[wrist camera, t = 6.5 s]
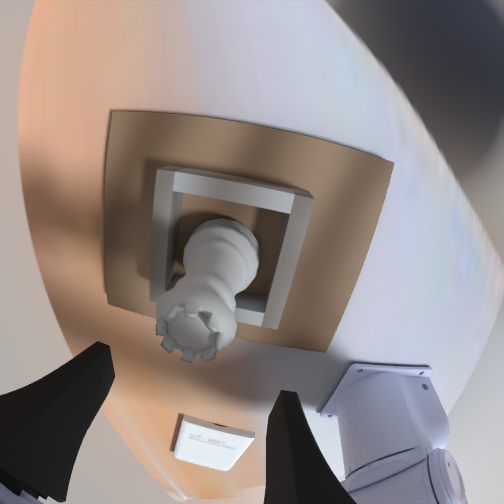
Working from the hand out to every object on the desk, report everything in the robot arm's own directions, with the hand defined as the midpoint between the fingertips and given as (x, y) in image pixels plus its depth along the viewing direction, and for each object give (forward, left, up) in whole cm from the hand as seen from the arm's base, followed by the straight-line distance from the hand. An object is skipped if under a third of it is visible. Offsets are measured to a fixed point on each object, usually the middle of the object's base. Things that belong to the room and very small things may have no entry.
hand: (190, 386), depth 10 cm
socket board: (0, -3, -9) cm, 10 cm away
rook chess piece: (0, -2, -9) cm, 9 cm away
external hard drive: (-1, +25, -10) cm, 27 cm away
